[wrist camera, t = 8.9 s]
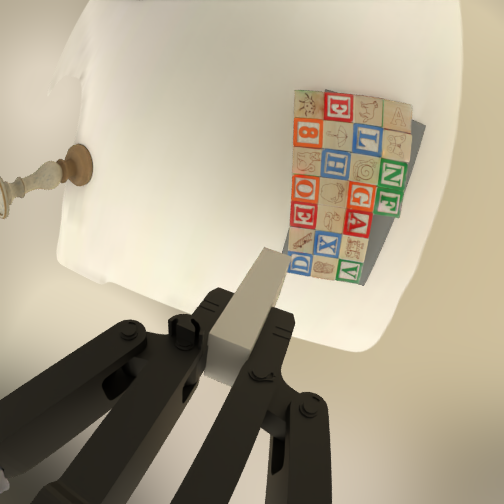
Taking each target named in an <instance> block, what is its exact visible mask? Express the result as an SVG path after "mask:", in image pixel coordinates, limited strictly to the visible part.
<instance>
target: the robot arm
mask: <svg viewBox="0 0 504 504" xmlns="http://www.w3.org/2000/svg"><path fill="white" fill-rule="evenodd" d="M291 258H292V257H291V256H288V255H286V254H283V253H280V252H277V251H274V250H271V249H268V248H265V247H264V249H263V250H262V252H261V253H260V255H259V256H258V258H257V259H256V261H255V263H254V264H253V266H252V267H251V269H250V270H249V272H248V273H247V275H246V277H245V278H244V280H243V281H242V283H241V284H240V286H239V287H238V289H237V291H236V292H235V293H232V292H230V291H227V290H224V289H222V288H219V287H218V288H216V289H214V290H212V291H210V292H209V293H208V294H207V296H206V297H205V298H204V300H203V301H202V302H201V303H200V305H199V307H197V309H196V310H195V311H194V313H193V314H192V315H189V314H179V315H175V316H173V317H171V318H170V319H169V320H168V329H169V334H167V335H164V334H156V333H150V332H146V330H145V327H144V326H143V325H142V324H141V323H139V322H138V321H135V320H123V321H121V322H119V323H117V324H116V325H114V326H112V327H111V328H109V329H108V330H106V331H105V332H103V333H102V334H100V335H98V336H97V337H95V338H94V339H93V340H91V341H89V342H88V343H86V344H84V345H83V346H81V347H80V348H78V349H77V350H75V351H74V352H72V353H71V354H69V355H68V356H66V357H65V358H63V359H61V360H60V361H58V362H57V363H55V364H54V365H53V366H51V367H49V368H48V369H46V370H45V371H43V372H42V373H40V374H39V375H38V376H36V377H34V378H33V379H31V380H30V381H28V382H27V383H25V384H24V385H22V386H21V387H19V388H18V389H16V390H15V391H13V392H12V393H10V394H9V395H8V396H6V397H4V398H3V399H1V400H0V493H2V492H3V491H5V490H8V489H9V482H8V480H7V479H6V478H10V477H15V476H18V475H20V474H23V473H24V472H26V471H28V470H30V469H31V468H33V467H34V466H36V465H37V464H38V463H39V462H41V461H43V460H44V459H45V458H47V457H48V456H50V455H51V454H52V453H54V452H55V451H56V450H58V449H59V448H61V447H62V446H63V445H65V444H66V443H67V442H69V441H70V440H71V439H72V438H74V437H75V436H76V435H78V434H79V433H81V432H82V431H83V430H85V429H86V428H87V427H88V426H90V425H91V424H92V423H94V422H95V421H96V420H97V419H99V418H100V417H102V416H103V415H104V414H105V413H107V412H108V411H109V410H111V411H110V412H109V413H108V415H107V416H106V417H105V419H104V420H103V421H102V422H101V424H100V425H99V426H98V428H97V429H96V430H95V432H94V433H93V434H92V436H91V437H90V438H89V440H88V441H87V443H86V444H85V445H84V446H83V448H82V449H81V451H80V452H79V453H78V455H77V456H76V457H75V459H74V460H73V461H72V463H71V464H70V466H69V467H68V468H67V469H66V471H65V472H64V474H63V475H62V476H61V477H60V479H58V480H57V481H55V482H52V483H49V484H47V485H46V486H44V487H43V488H42V489H41V490H40V491H39V493H38V494H37V496H36V497H35V498H34V500H33V501H32V503H31V504H126V503H127V501H128V500H129V498H130V496H131V495H132V493H133V492H134V490H135V489H136V487H137V485H138V484H139V482H140V481H141V479H142V477H143V476H144V474H145V473H146V471H147V469H148V468H149V466H150V464H151V463H152V461H153V460H154V458H155V456H156V455H157V453H158V451H159V450H160V448H161V446H162V445H163V443H164V442H165V440H166V438H167V437H168V435H169V433H170V432H171V430H172V428H173V427H174V425H175V423H176V421H177V420H178V418H179V417H180V415H181V413H182V412H183V410H184V408H185V407H186V405H187V403H188V402H189V400H190V398H191V397H192V395H193V393H194V391H195V390H196V388H197V386H198V383H199V378H200V376H201V374H202V373H203V371H204V375H205V376H207V377H209V378H211V379H214V380H216V381H218V382H221V383H223V384H226V385H228V386H231V387H232V388H231V390H230V392H229V394H228V396H227V398H226V400H225V402H224V404H223V406H222V408H221V410H220V412H219V414H218V416H217V418H216V420H215V422H214V424H213V426H212V428H211V430H210V431H209V433H208V435H207V437H206V439H205V441H204V443H203V445H202V447H201V449H200V451H199V453H198V454H197V456H196V458H195V460H194V462H193V464H192V465H191V467H190V469H189V471H188V473H187V474H186V476H185V478H184V480H183V482H182V483H181V485H180V487H179V489H178V491H177V492H176V494H175V496H174V498H173V499H172V501H171V503H170V504H228V502H229V500H230V498H231V496H232V494H233V492H234V489H235V487H236V485H237V483H238V481H239V478H240V476H241V473H242V472H243V469H244V467H245V464H246V462H247V460H248V457H249V455H250V453H251V450H252V448H253V445H254V443H255V440H256V438H257V435H258V433H259V430H260V428H262V429H264V430H265V431H267V432H268V433H269V434H270V448H269V461H268V475H267V486H266V499H265V504H332V478H331V451H330V431H329V416H328V407H327V404H326V402H325V401H324V400H323V398H322V397H320V396H319V395H317V394H315V393H311V392H302V393H298V392H297V391H295V390H294V389H292V388H291V387H290V386H289V385H287V384H286V383H285V381H284V380H283V378H282V375H281V366H282V363H283V360H284V357H285V354H286V351H287V348H288V345H289V341H290V339H291V336H292V332H293V329H294V326H295V320H294V315H293V314H292V313H289V312H286V311H283V310H280V309H278V308H275V305H276V302H277V300H278V298H279V295H280V292H281V289H282V286H283V283H284V280H285V276H286V273H287V270H288V267H289V264H290V261H291Z"/></svg>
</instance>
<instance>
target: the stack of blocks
mask: <svg viewBox="0 0 504 504" xmlns="http://www.w3.org/2000/svg"><path fill="white" fill-rule="evenodd" d="M411 121H412V105H410V104H406V103H401V102H396V101H390V100H385V99H382V98H375V97H368V96H363V95H352V94H343V93H332V92H319V91H304V90H295V103H294V136H293V145H294V146H293V166H292V196H291V211H290V229H289V244H288V256H291V257H292V258H291V261H290V264H289V267H288V270H287V272H288V273H294V274H299V275H304V276H311V277H315V278H321V279H327V280H333V281H334V280H337V281H343V282H349V283H356V284H359V282H360V278H361V273H362V269H363V264H364V260H365V255H366V251H367V246H368V241H369V234H370V229H371V223H372V218H373V214H375V215H382V216H389V217H395V218H399V217H400V213H401V207H402V202H403V196H404V190H405V184H406V178H407V171H408V163H409V161H410V154H411V143H412V135H411V134H410V133H411Z"/></svg>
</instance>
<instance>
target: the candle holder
mask: <svg viewBox="0 0 504 504" xmlns="http://www.w3.org/2000/svg"><path fill="white" fill-rule="evenodd" d="M91 175H92V160H91V156H90V154H89V152H88V150H87V149H86V148H85V147H84V146H83V145H80V144H76V145H73V146H72V147H71V148H70V149H69V150H68V152H67V155H66V157H65V160H62V159H59V160H58V161H57V162H54V161H48V162H46V163H44V164H43V165H42V166H41V167H40V168H39V169H38V170H37V171H36V172H35V173H33V174H31V175H29V176H27V177H25V178H22V179H21V178H20V177H17V179H16V180H15V182H13V183H8V182H6V181H5V182H3V180H2V178H1V177H0V218H2V219H5V218H7V217H8V215H9V205H11V204H12V201H13V200H14V198H16V197H20V198H23V197H24V196H25V193H27V192H30V191H32V190H35V189H44V190H51V189H54V188H56V187H57V186H58V185H59V184H60V182H61V183H65V182H66V181H67V179H69V180H70V181H71V182H72V183H73V184H75V185H76V186H83V185H85V184H87V183H88V182H89V180H90V178H91Z"/></svg>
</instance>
